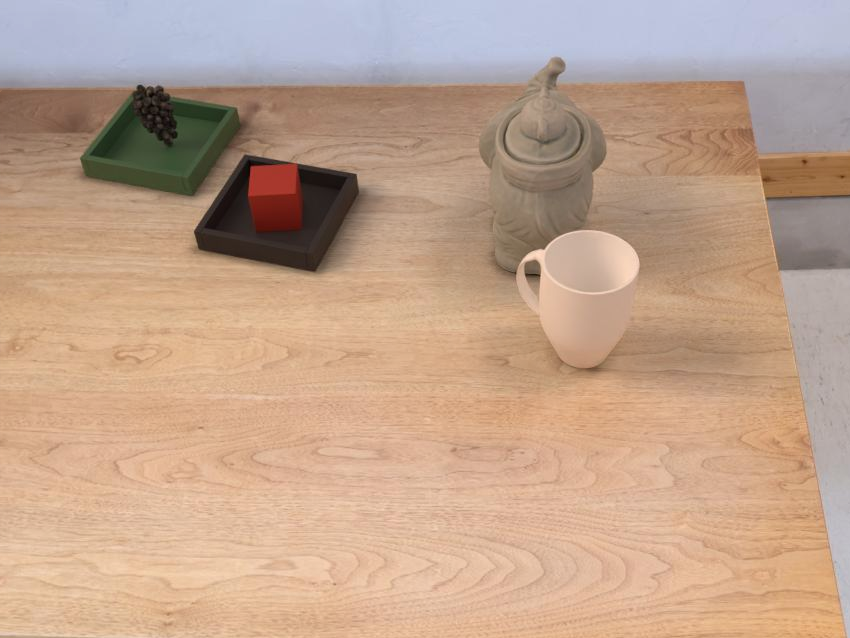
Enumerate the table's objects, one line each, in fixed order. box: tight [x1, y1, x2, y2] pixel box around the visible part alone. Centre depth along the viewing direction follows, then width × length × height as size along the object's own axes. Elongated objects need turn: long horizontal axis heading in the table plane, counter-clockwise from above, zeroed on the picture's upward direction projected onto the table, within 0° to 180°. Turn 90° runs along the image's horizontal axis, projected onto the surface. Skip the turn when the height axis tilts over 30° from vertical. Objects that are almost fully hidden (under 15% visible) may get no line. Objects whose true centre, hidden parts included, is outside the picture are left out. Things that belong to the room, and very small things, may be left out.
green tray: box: [79, 90, 242, 197], centre depth 131 cm, size 14×14×3 cm
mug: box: [515, 229, 640, 369], centre depth 106 cm, size 12×9×12 cm
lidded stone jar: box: [478, 56, 607, 276], centre depth 114 cm, size 16×15×19 cm
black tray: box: [193, 154, 360, 273], centre depth 123 cm, size 14×14×3 cm
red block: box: [248, 164, 303, 232], centre depth 121 cm, size 5×5×5 cm
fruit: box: [131, 84, 178, 146], centre depth 128 cm, size 5×4×8 cm
